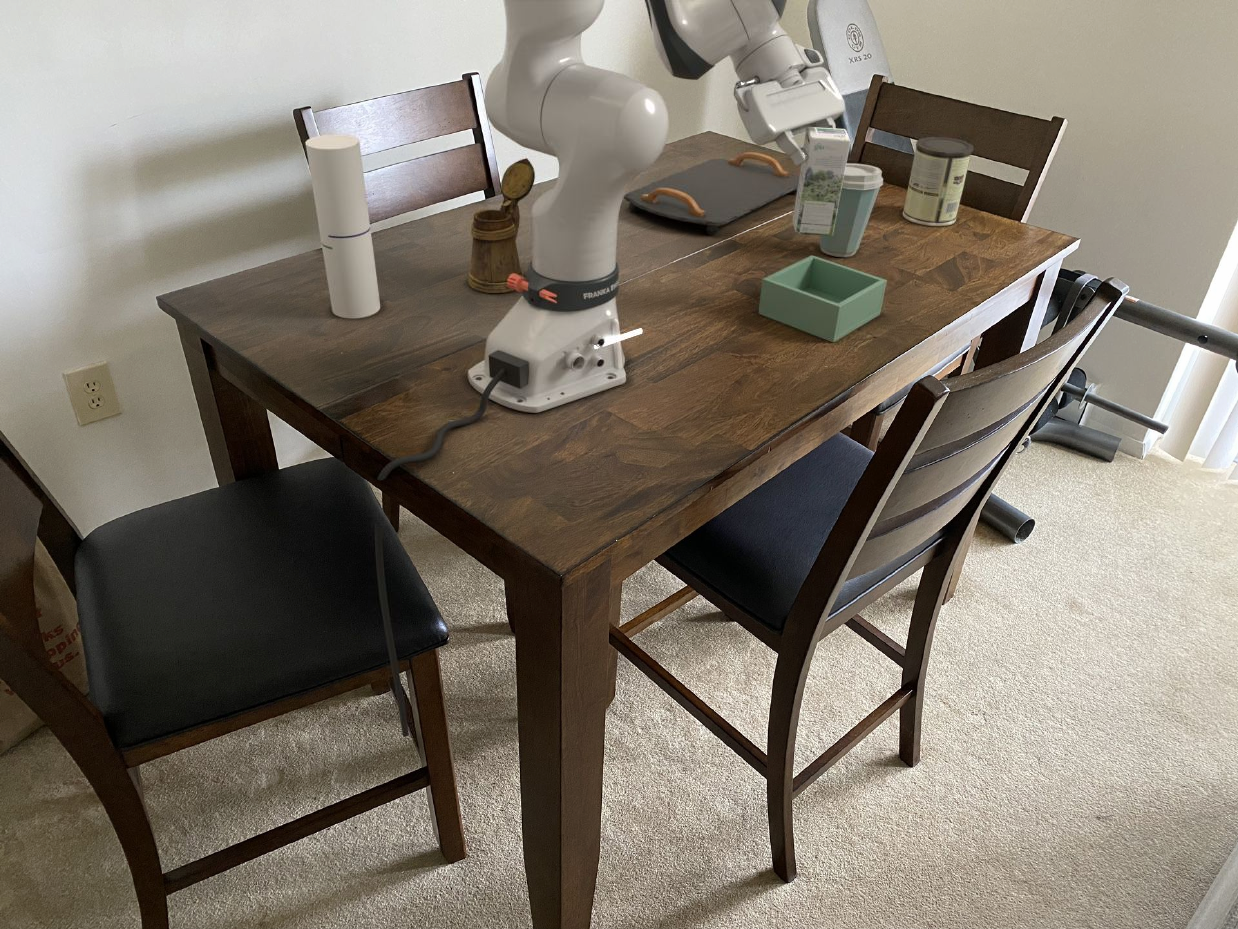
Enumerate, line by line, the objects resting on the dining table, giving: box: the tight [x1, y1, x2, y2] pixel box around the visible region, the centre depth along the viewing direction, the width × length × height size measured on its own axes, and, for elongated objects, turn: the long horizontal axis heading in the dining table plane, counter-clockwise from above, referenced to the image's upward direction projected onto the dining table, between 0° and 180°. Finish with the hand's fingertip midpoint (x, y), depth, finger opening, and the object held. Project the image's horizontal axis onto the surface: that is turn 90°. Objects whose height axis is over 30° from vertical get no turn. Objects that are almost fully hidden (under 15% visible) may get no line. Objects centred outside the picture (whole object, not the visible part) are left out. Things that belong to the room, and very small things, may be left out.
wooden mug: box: [467, 157, 536, 294], centre depth 149 cm, size 9×14×18 cm, turn 146°
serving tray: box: [623, 151, 799, 237], centre depth 185 cm, size 39×23×6 cm, turn 142°
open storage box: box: [758, 255, 888, 343], centre depth 144 cm, size 14×14×6 cm
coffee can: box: [902, 136, 974, 227], centre depth 179 cm, size 10×10×14 cm
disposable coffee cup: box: [818, 163, 884, 258], centre depth 163 cm, size 11×11×15 cm
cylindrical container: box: [305, 133, 381, 319], centre depth 136 cm, size 7×7×25 cm
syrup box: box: [791, 127, 851, 236], centre depth 137 cm, size 6×6×14 cm
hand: (819, 156), depth 135 cm, fingers closed on syrup box, 7 cm apart
